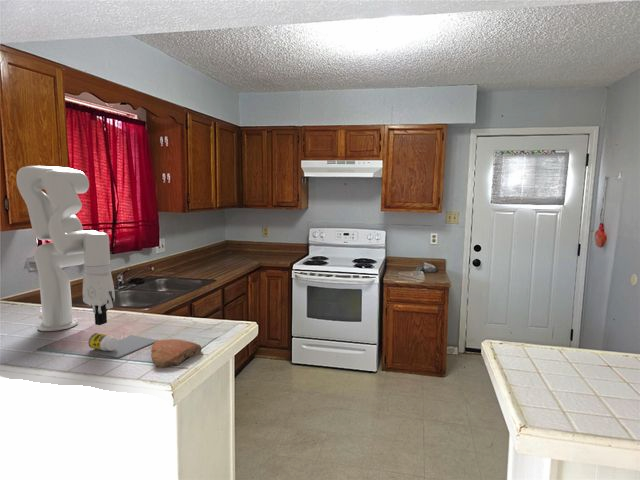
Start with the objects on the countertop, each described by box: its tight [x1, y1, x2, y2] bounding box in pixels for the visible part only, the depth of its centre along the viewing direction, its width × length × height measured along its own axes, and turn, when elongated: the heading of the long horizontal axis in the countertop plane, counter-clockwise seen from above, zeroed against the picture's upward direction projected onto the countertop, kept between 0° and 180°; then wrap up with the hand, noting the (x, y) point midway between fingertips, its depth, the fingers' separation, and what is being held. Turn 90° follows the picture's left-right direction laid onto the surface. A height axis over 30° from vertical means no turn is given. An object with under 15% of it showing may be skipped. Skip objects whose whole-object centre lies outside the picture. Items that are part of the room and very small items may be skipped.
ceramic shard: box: [150, 338, 203, 368], centre depth 126 cm, size 15×6×15 cm
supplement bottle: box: [87, 332, 118, 351], centre depth 132 cm, size 5×5×8 cm
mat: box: [89, 334, 159, 359], centre depth 136 cm, size 12×16×1 cm
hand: (101, 323), depth 139 cm, fingers closed
